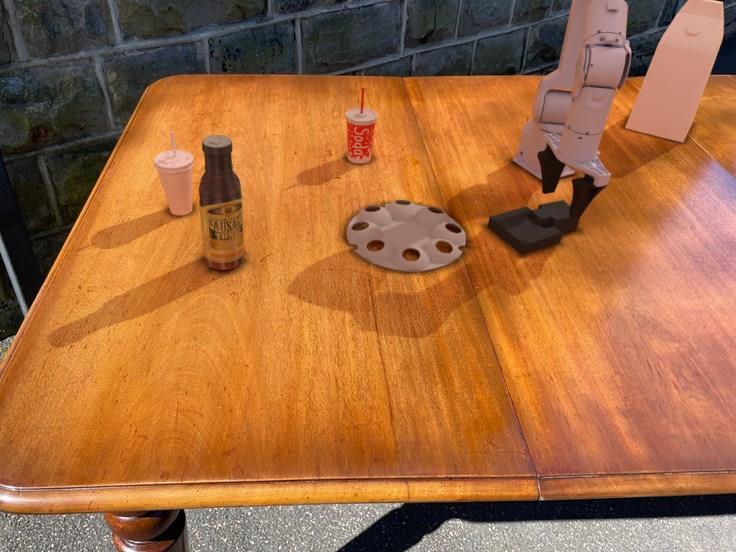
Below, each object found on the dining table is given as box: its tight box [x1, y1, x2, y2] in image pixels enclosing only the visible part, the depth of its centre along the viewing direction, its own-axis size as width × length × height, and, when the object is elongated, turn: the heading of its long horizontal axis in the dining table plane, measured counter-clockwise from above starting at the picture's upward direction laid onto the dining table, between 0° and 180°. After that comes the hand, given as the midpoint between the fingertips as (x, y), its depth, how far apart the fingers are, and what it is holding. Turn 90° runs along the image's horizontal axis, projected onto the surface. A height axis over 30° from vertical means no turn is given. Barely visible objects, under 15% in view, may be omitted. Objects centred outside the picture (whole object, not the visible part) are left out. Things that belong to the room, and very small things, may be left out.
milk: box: [624, 0, 725, 143], centre depth 132 cm, size 12×12×26 cm
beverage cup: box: [344, 87, 379, 165], centre depth 120 cm, size 6×6×14 cm
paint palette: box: [346, 199, 467, 273], centre depth 104 cm, size 20×20×2 cm
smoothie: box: [153, 130, 195, 216], centre depth 104 cm, size 6×6×14 cm
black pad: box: [487, 206, 564, 255], centre depth 105 cm, size 9×8×2 cm
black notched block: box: [529, 199, 582, 233], centre depth 107 cm, size 5×7×3 cm
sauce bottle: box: [198, 134, 245, 271], centre depth 92 cm, size 6×6×20 cm
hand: (561, 203), depth 106 cm, fingers open, 7 cm apart
